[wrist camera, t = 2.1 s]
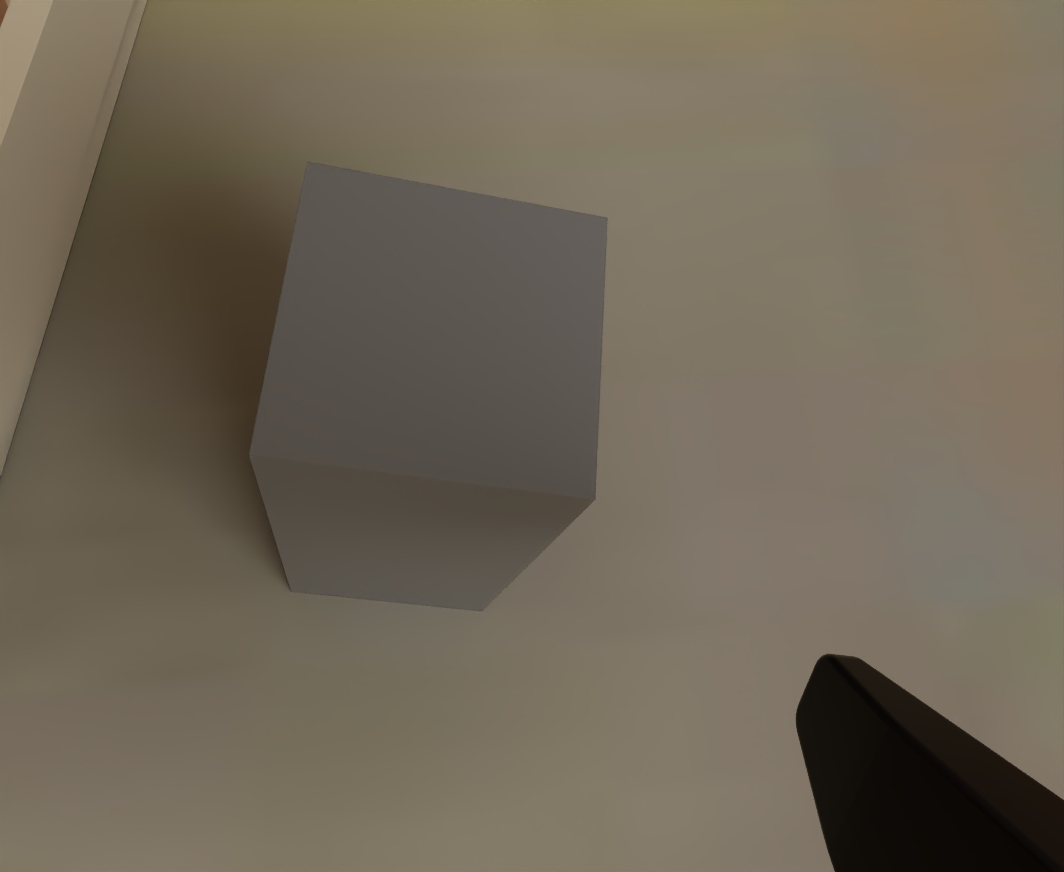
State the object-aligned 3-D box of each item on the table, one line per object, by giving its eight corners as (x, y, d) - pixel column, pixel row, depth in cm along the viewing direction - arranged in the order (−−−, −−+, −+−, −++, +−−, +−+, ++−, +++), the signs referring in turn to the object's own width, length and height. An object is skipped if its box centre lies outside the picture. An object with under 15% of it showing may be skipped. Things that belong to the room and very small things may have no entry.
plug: (481, 611, 21) (595, 499, 11) (290, 591, 20) (248, 455, 11) (497, 437, 22) (607, 217, 13) (321, 413, 21) (307, 161, 12)
